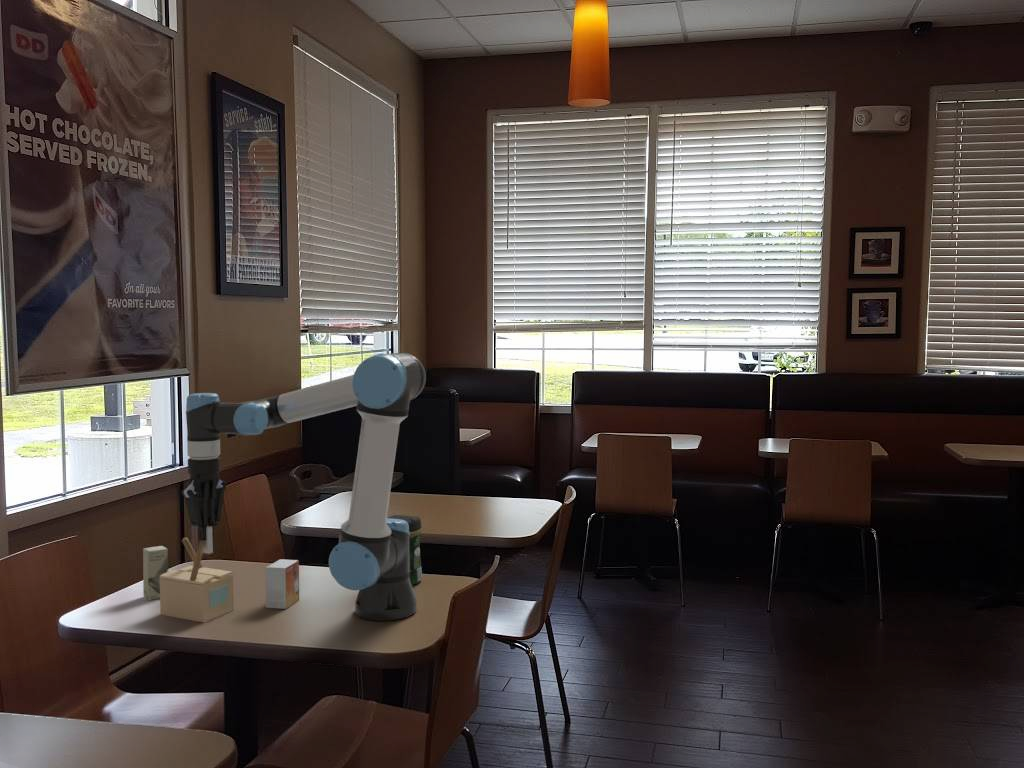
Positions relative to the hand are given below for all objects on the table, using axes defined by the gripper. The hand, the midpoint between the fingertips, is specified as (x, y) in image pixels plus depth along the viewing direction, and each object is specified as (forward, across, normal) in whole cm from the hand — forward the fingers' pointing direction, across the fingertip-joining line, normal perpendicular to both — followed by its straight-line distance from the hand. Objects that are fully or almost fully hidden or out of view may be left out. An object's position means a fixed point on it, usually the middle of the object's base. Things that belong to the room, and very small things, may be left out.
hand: (206, 552), depth 213 cm
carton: (+15, 0, -3) cm, 16 cm away
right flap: (+6, -2, -3) cm, 7 cm away
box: (+16, -4, -22) cm, 28 cm away
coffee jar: (+16, -43, +29) cm, 54 cm away
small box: (+16, -14, +12) cm, 24 cm away
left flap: (+6, +3, -3) cm, 7 cm away
